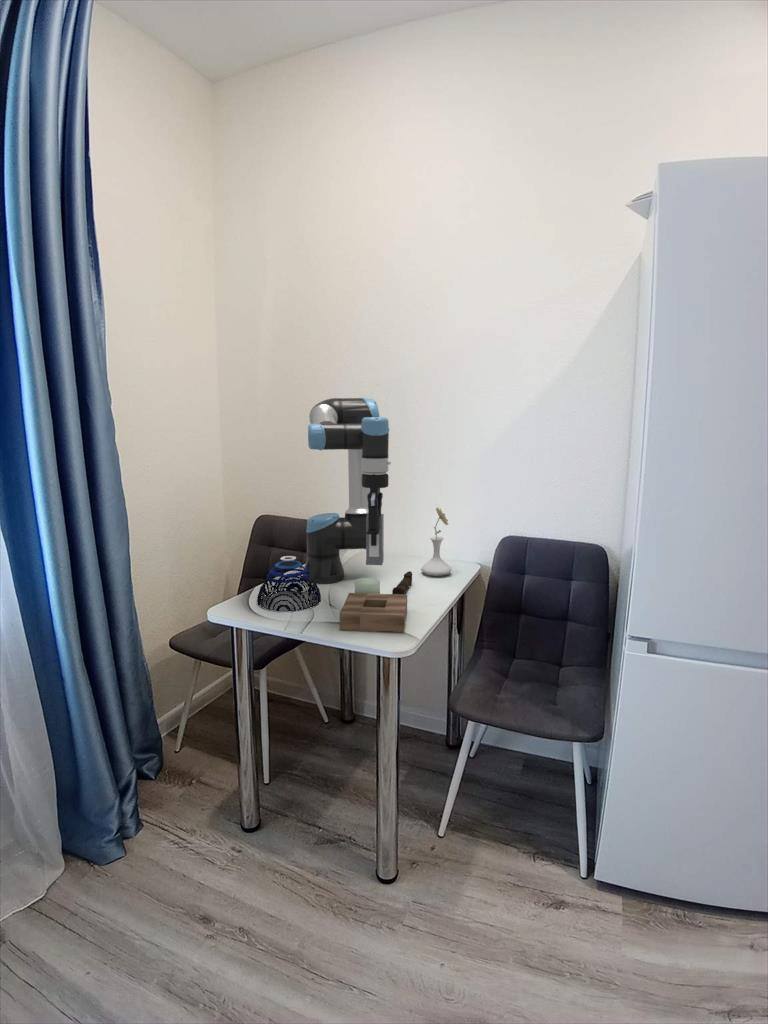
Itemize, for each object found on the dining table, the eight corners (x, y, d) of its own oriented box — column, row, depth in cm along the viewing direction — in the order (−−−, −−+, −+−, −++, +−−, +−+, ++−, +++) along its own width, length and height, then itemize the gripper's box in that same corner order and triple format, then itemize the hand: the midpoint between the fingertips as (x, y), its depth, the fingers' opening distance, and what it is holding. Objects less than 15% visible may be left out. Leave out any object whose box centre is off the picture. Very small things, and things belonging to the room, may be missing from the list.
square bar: (368, 560, 167) (368, 513, 164) (383, 561, 166) (383, 513, 164) (366, 564, 162) (366, 516, 160) (382, 565, 162) (382, 516, 159)
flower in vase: (450, 579, 208) (452, 511, 203) (419, 577, 210) (420, 510, 205) (452, 569, 220) (453, 505, 216) (422, 567, 222) (423, 504, 218)
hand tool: (403, 599, 186) (403, 586, 185) (391, 598, 187) (392, 584, 186) (418, 583, 204) (418, 570, 203) (407, 582, 205) (407, 569, 204)
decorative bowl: (324, 591, 194) (324, 550, 191) (316, 612, 174) (315, 566, 171) (265, 591, 194) (264, 549, 191) (251, 611, 174) (249, 566, 172)
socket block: (349, 608, 177) (349, 592, 176) (407, 610, 176) (407, 594, 175) (339, 630, 159) (339, 613, 159) (404, 632, 158) (404, 615, 157)
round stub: (356, 598, 187) (356, 577, 186) (381, 598, 186) (381, 578, 185) (353, 606, 179) (353, 584, 178) (378, 607, 178) (378, 585, 177)
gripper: (385, 476, 151) (385, 562, 155) (390, 470, 168) (390, 547, 172) (357, 476, 152) (357, 561, 156) (365, 469, 169) (365, 546, 173)
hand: (375, 553), depth 164 cm, fingers closed on square bar, 4 cm apart
